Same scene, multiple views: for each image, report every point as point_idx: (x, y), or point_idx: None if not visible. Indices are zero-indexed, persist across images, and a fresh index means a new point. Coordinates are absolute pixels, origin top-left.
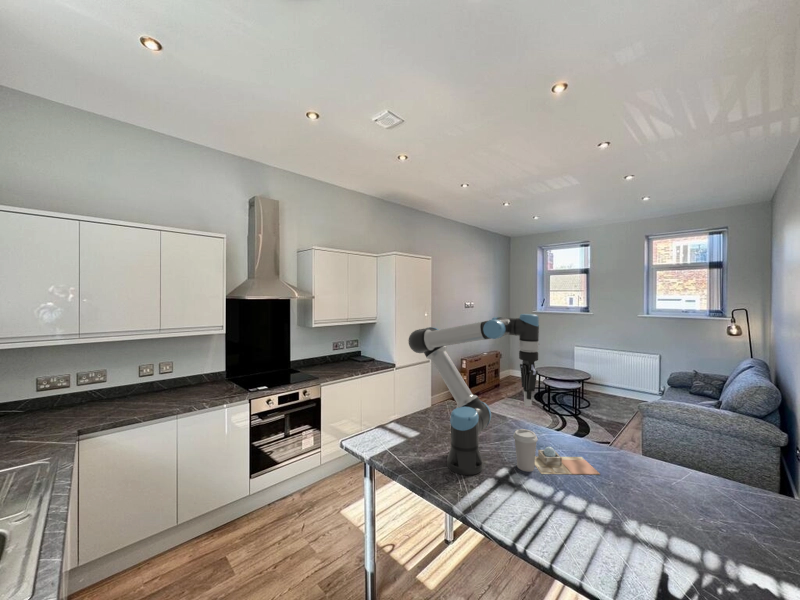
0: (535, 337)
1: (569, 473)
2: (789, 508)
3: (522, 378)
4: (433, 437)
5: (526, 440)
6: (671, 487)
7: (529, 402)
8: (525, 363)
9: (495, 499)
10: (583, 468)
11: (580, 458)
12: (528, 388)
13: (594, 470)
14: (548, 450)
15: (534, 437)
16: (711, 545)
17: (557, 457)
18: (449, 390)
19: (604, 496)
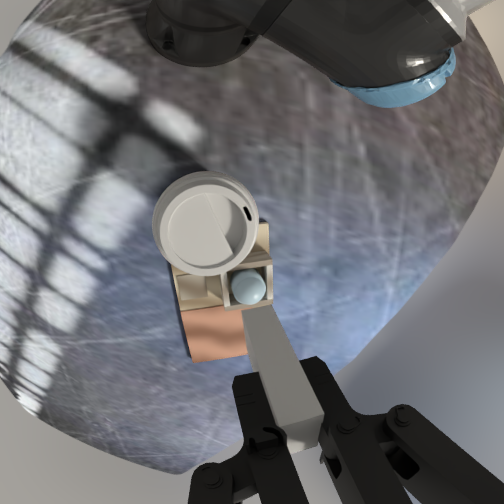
0: None
1: (181, 306)
2: (170, 472)
3: (447, 483)
4: None
5: (153, 223)
6: (182, 426)
7: (252, 362)
8: None
9: (45, 98)
10: (211, 340)
11: None
12: (206, 498)
13: (206, 357)
14: (240, 288)
15: (176, 264)
16: (56, 401)
17: (226, 301)
18: None
19: (113, 341)
